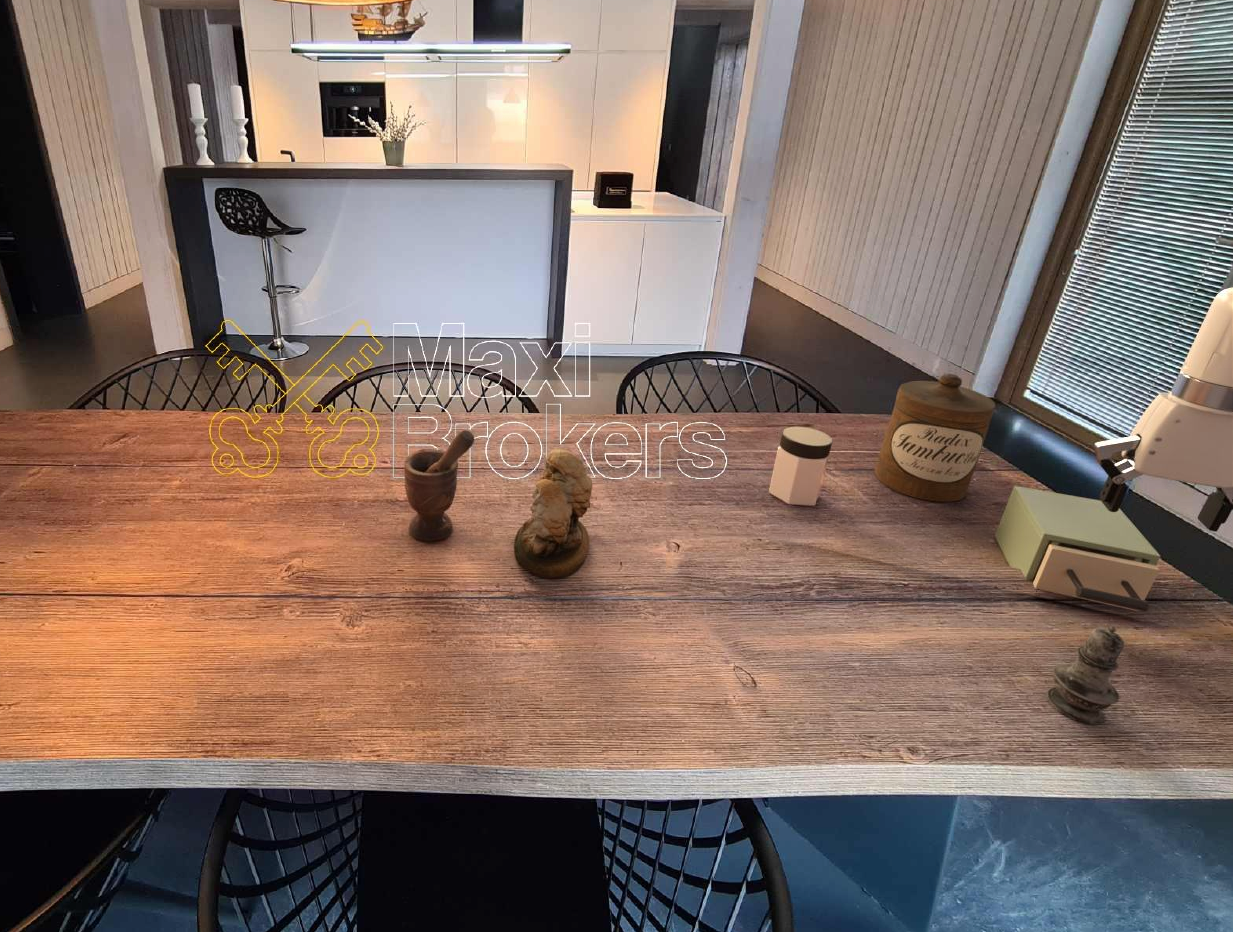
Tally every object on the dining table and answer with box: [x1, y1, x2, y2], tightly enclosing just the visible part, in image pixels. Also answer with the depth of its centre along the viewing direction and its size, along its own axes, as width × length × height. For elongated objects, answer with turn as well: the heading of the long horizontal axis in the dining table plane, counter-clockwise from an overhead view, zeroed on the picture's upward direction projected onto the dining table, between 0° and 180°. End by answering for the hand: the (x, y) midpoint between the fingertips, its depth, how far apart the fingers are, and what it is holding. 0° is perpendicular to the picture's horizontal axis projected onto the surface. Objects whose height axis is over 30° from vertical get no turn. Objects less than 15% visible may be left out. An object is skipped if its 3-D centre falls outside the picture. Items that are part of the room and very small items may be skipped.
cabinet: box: [994, 485, 1162, 581], centre depth 100 cm, size 15×13×10 cm
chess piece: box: [1045, 625, 1125, 726], centre depth 76 cm, size 6×6×12 cm
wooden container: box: [874, 373, 996, 503], centre depth 123 cm, size 15×15×22 cm
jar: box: [768, 426, 833, 507], centre depth 120 cm, size 9×8×12 cm
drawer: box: [1032, 540, 1160, 613], centre depth 96 cm, size 19×12×8 cm, turn 156°
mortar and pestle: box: [403, 429, 475, 542], centre depth 107 cm, size 12×9×20 cm
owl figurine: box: [513, 448, 593, 580], centre depth 104 cm, size 18×12×17 cm, turn 167°
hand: (1156, 516), depth 85 cm, fingers open, 9 cm apart
